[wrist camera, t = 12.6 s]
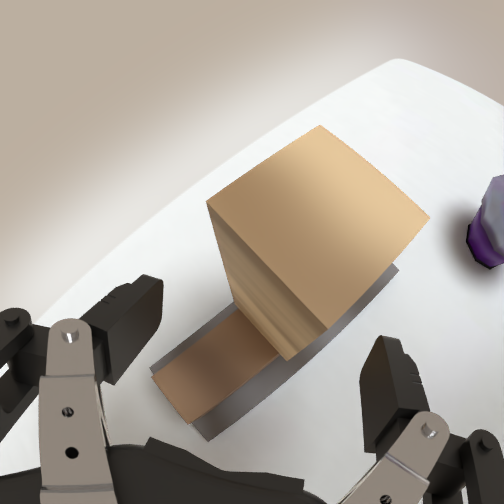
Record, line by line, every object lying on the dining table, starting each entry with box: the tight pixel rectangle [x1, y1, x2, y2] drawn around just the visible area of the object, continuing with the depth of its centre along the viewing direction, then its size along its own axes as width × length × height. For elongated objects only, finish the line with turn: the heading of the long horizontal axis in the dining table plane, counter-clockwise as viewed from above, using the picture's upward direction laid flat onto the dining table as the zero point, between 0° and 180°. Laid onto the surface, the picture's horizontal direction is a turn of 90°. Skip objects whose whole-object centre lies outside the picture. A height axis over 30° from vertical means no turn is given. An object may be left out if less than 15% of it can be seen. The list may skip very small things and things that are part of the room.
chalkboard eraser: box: [150, 263, 399, 442], centre depth 21 cm, size 20×7×6 cm, turn 130°
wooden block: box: [206, 125, 430, 361], centre depth 13 cm, size 4×4×11 cm
